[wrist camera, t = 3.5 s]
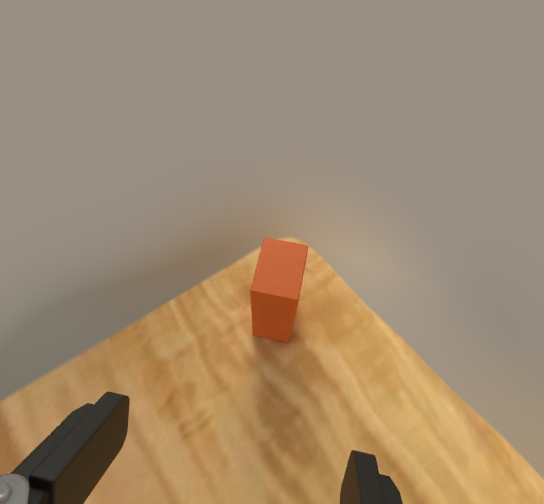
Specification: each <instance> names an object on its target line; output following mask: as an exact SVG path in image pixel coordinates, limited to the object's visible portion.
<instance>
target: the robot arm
mask: <svg viewBox="0 0 544 504" xmlns="http://www.w3.org/2000/svg"><path fill="white" fill-rule="evenodd" d="M128 414H129V397H128V396H125V395H121V394H117V393H112V392H106V393H105V394H104V395H103V396H102V397H101V398H100V399H99V400H98V401H97V402H96V403H95V405H93V404H89V403H87V404H85V405H84V406H82V407H80V408H78V409H76V410H75V411H73V412H72V413H71V414H70V415H69V416H68V417H67V418H66V419H65V420H64V421H63V422H62V423H61V424H60V426H58V427H57V428H56V429H55V430H54V431H53V432H52V433H51V435H49V436H48V437H47V438H46V439H45V440H44V441H43V442H42V443H41V444H40V445H39V446H38V447H37V448H36V449H35V450H34V451H33V452H32V453H31V454H30V455H29V456H28V457H27V458H26V459H25V460H24V461H23V462H22V463H21V464H20V465H19V466H18V467H17V468H16V469H15V470H14V471H13V472H11V473H10V474H5V475H0V504H83V503H84V502H85V500H86V499H87V497H88V496H89V495H90V493H91V492H92V490H93V489H94V487H95V486H96V484H97V483H98V482H99V480H100V479H101V477H102V476H103V474H104V473H105V472H106V470H107V469H108V467H109V466H110V464H111V463H112V461H113V460H114V459H115V457H116V456H117V454H118V453H119V451H120V450H121V448H122V446H123V444H124V441H125V438H126V435H127V428H128ZM340 504H403V503H402V500H401V496H400V492H399V490H398V489H397V487H396V486H395V484H394V483H393V481H392V480H391V478H390V476H385V475H381V474H379V471H378V466H377V461H376V457H375V455H372V454H368V453H363V452H359V451H355V450H352V451H351V453H350V457H349V460H348V464H347V468H346V471H345V475H344V479H343V482H342V486H341V493H340Z"/></svg>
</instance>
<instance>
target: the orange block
mask: <svg viewBox="0 0 544 504" xmlns="http://www.w3.org/2000/svg"><path fill="white" fill-rule="evenodd" d="M307 251H308V246H307V245H302V244H296V243H291V242H286V241H281V240H275V239H270V238H264V241H263V244H262V248H261V252H260V256H259V260H258V264H257V267H256V271H255V275H254V279H253V283H252V287H251V309H252V329H253V335H254V336H258V337H263V338H268V339H272V340H277V341H282V342H286V343H288V341H289V337H290V333H291V329H292V325H293V321H294V317H295V313H296V309H297V305H298V301H299V296H300V290H301V285H302V279H303V274H304V268H305V263H306V257H307Z"/></svg>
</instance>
